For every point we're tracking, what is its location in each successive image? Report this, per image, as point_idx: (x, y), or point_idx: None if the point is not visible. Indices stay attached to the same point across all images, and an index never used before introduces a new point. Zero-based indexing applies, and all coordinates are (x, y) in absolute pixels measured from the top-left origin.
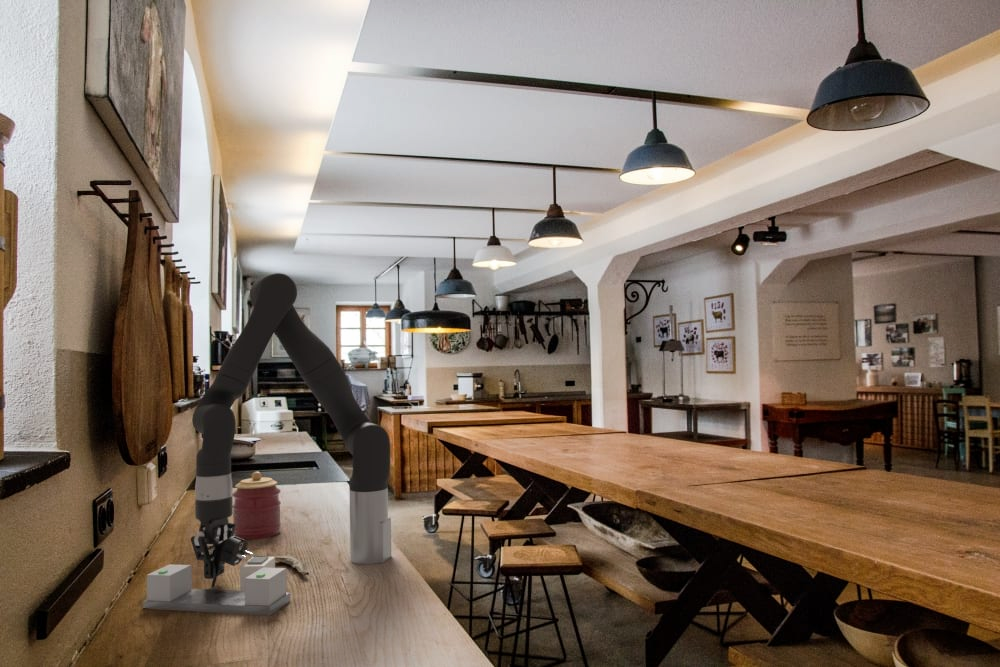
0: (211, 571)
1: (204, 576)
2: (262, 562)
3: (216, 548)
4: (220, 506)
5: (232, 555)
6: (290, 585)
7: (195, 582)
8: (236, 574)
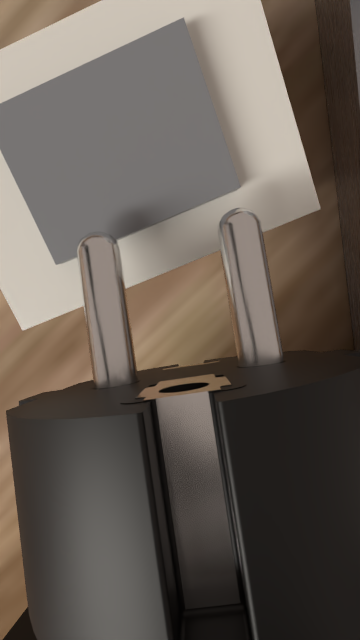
0: None
1: None
2: (156, 38)
3: None
4: None
5: (320, 355)
6: (11, 43)
7: None
8: (6, 481)
